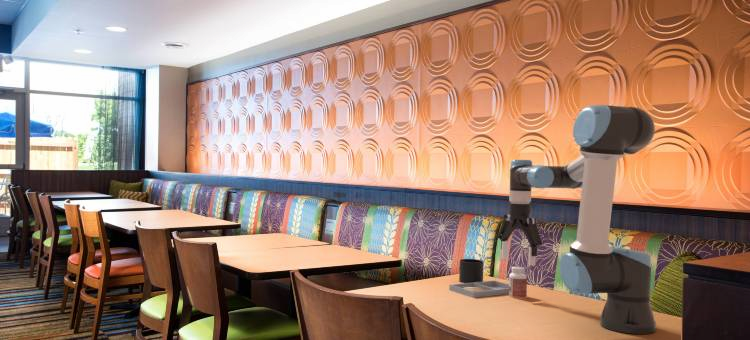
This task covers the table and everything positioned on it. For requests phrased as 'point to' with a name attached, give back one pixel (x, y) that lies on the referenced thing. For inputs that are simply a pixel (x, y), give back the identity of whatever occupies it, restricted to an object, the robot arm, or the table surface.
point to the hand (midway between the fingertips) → (518, 262)
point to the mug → (470, 271)
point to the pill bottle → (518, 283)
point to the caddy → (488, 286)
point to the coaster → (473, 289)
